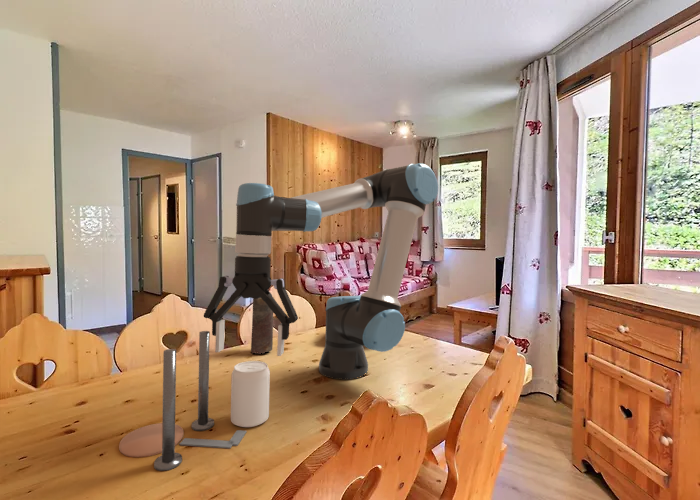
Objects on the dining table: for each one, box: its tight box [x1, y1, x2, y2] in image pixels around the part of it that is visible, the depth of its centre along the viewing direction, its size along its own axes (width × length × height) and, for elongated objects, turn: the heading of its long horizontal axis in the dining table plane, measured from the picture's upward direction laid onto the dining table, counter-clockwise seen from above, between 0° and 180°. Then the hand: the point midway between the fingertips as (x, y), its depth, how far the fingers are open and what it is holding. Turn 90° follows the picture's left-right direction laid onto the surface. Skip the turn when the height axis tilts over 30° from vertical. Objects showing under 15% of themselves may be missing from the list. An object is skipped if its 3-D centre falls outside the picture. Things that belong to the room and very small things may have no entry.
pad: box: [118, 422, 184, 458], centre depth 71 cm, size 11×11×1 cm
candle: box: [250, 296, 275, 355], centre depth 127 cm, size 8×7×20 cm
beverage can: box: [230, 360, 271, 428], centre depth 79 cm, size 8×8×12 cm
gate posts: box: [153, 330, 215, 472], centre depth 70 cm, size 4×17×20 cm, turn 176°
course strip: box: [178, 429, 247, 449], centre depth 72 cm, size 11×6×1 cm, turn 86°
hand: (249, 352), depth 79 cm, fingers open, 13 cm apart
